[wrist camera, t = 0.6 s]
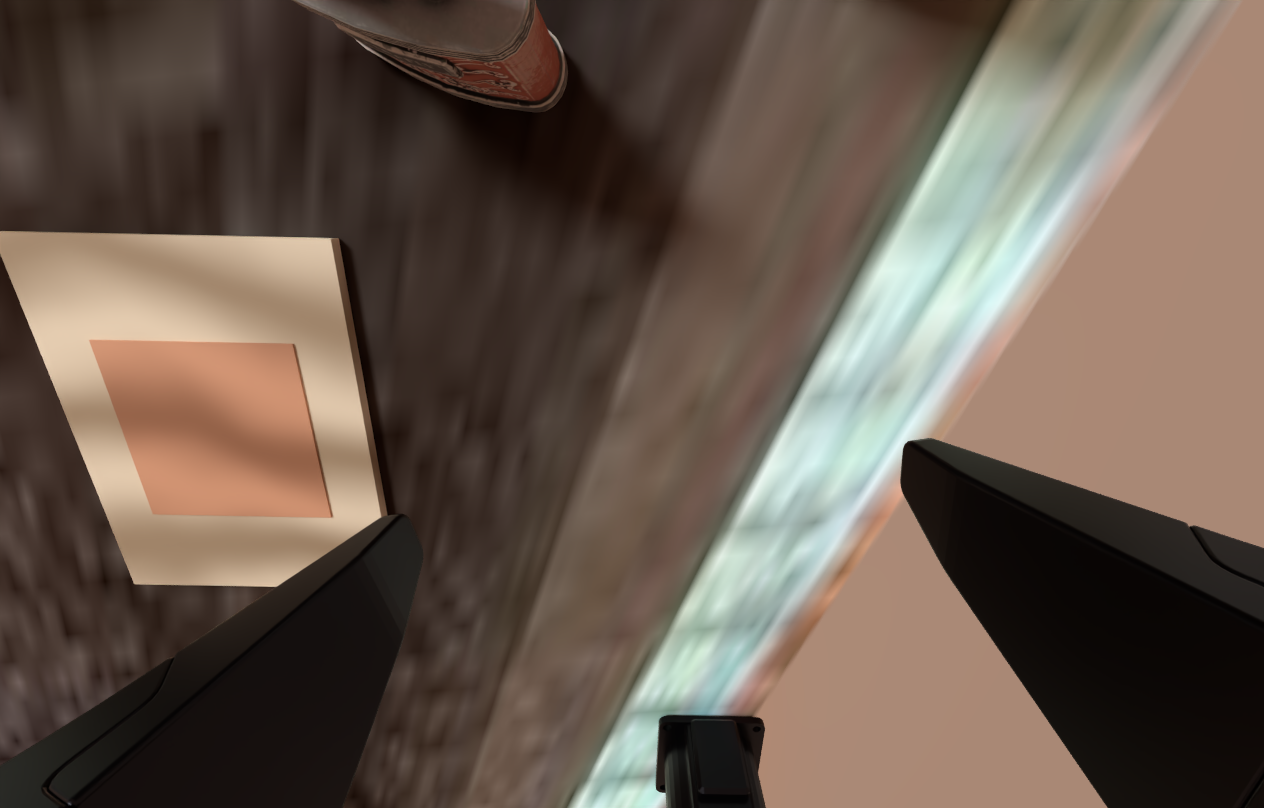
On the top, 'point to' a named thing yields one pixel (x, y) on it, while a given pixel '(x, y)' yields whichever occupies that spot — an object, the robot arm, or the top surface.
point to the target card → (207, 395)
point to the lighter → (461, 46)
